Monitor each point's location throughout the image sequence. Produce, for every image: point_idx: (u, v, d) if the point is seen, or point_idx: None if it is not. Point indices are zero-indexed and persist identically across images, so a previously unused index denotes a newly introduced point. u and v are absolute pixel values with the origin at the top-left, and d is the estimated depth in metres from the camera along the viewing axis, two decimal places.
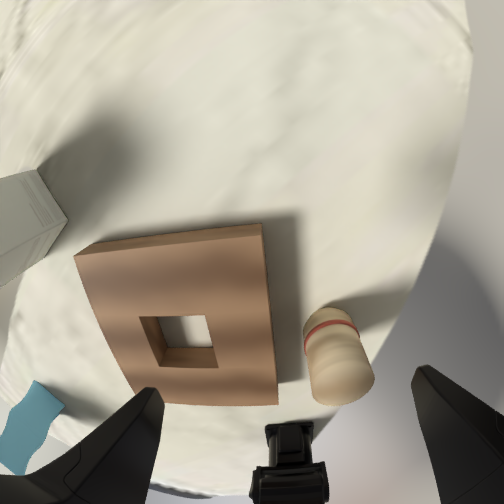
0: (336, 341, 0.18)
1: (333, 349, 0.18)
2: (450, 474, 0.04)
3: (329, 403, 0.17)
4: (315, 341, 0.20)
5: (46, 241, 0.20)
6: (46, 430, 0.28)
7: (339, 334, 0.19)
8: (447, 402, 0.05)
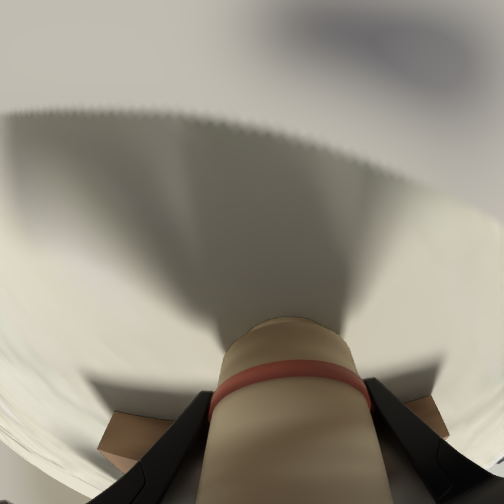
0: None
1: None
2: None
3: None
4: None
5: None
6: None
7: None
8: (385, 422, 0.05)
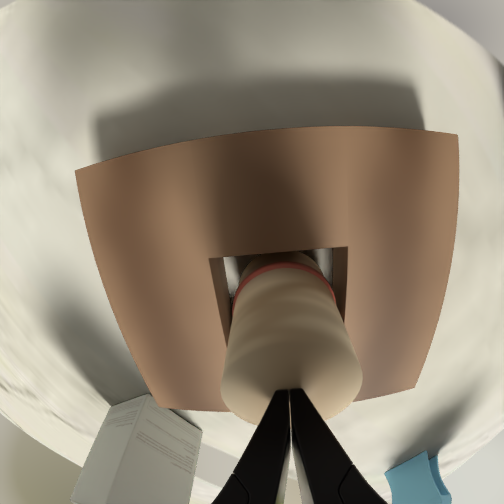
0: None
1: None
2: None
3: (343, 403, 0.08)
4: None
5: (160, 425, 0.18)
6: (434, 489, 0.18)
7: None
8: (295, 436, 0.05)
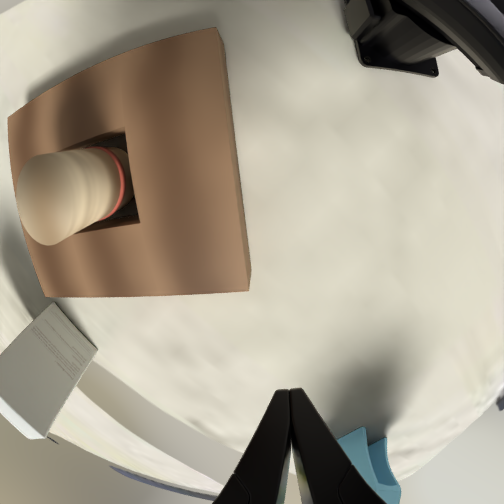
0: None
1: None
2: None
3: (67, 214, 0.10)
4: None
5: (55, 328, 0.20)
6: (369, 475, 0.20)
7: None
8: (295, 437, 0.05)
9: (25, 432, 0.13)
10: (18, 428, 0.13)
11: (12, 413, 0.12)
